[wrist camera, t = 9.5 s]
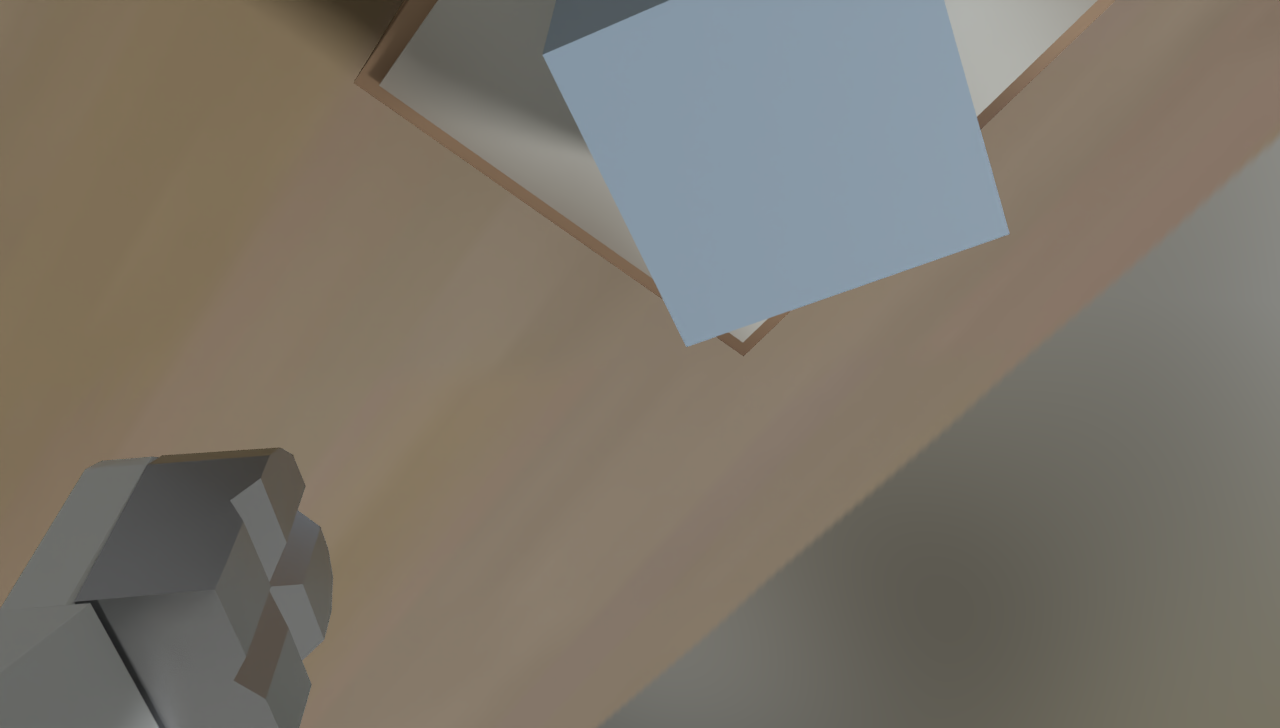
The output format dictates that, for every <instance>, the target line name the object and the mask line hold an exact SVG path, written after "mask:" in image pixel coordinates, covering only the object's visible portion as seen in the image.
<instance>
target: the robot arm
mask: <svg viewBox="0 0 1280 728" xmlns="http://www.w3.org/2000/svg"><path fill="white" fill-rule="evenodd" d="M304 489H305V483H304V481H303V479H302V476H301V474H300V471H299V469H298V466H297V464H296V462H295V459H294V457H293V455H292V454H291V453H289V452H287V451H285V450H284V449H282V448H266V449H251V450H236V451H222V452H207V453H192V454H177V455H162V456H160V457H142V458H130V459H117V460H105V461H100V462H98V463H96V464H94V465H92V466H91V467H89V468H87V469H85V471H84V472H83V474H82V475H81V477H80V478H79V480H78V482H77V483H76V485H75V487H74V488H73V490H72V492H71V493H70V495H69V497H68V498H67V500H66V501H65V503H64V505H63V506H62V508H61V510H60V511H59V513H58V515H57V516H56V518H55V520H54V521H53V523H52V524H51V526H50V528H49V529H48V531H47V533H46V534H45V536H44V538H43V539H42V541H41V543H40V544H39V546H38V547H37V549H36V551H35V552H34V554H33V556H32V557H31V559H30V561H29V562H28V564H27V566H26V567H25V569H24V570H23V572H22V574H21V575H20V577H19V579H18V580H17V582H16V584H15V585H14V587H13V588H12V590H11V592H10V593H9V595H8V597H7V598H6V600H5V602H4V603H3V605H2V607H1V608H0V728H299V726H300V723H301V719H302V716H303V713H304V709H305V706H306V702H307V699H308V695H309V692H310V688H311V682H310V680H309V677H308V675H307V672H306V670H305V667H304V665H303V662H302V660H303V659H304V658H305V657H306V656H307V655H308V654H310V653H311V652H312V651H313V650H314V649H315V648H316V647H317V646H318V645H319V644H320V643H321V642H322V641H323V640H324V638H325V634H326V630H327V626H328V623H329V619H330V615H331V610H332V584H333V575H332V569H331V563H330V557H329V551H328V547H327V544H326V541H325V539H324V536H323V533H322V530H321V527H320V526H318V525H317V524H316V523H314V522H313V521H312V520H310V519H309V518H307V517H306V516H305V515H303V514H302V513H301V512H299V511H298V507H299V504H300V501H301V498H302V495H303V492H304Z"/></svg>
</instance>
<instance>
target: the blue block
mask: <svg viewBox="0 0 1280 728" xmlns="http://www.w3.org/2000/svg"><path fill="white" fill-rule="evenodd" d="M542 55H543V57H544V59H545V61H546V63H547V65H548V67H549V69H550V71H551V73H552V75H553V78H554V80H555V82H556V84H557V86H558V88H559V90H560V92H561V94H562V96H563V98H564V100H565V102H566V104H567V106H568V108H569V110H570V112H571V114H572V116H573V118H574V120H575V122H576V124H577V126H578V128H579V130H580V132H581V134H582V136H583V138H584V140H585V142H586V144H587V146H588V148H589V150H590V152H591V154H592V157H593V159H594V161H595V163H596V165H597V167H598V169H599V171H600V173H601V175H602V177H603V179H604V181H605V183H606V185H607V187H608V189H609V191H610V193H611V195H612V197H613V199H614V201H615V203H616V205H617V207H618V209H619V211H620V213H621V215H622V217H623V219H624V221H625V223H626V225H627V227H628V229H629V231H630V234H631V236H632V238H633V240H634V242H635V244H636V246H637V248H638V250H639V252H640V254H641V256H642V258H643V260H644V262H645V264H646V266H647V268H648V270H649V272H650V274H651V276H652V278H653V280H654V282H655V284H656V286H657V288H658V290H659V292H660V294H661V296H662V298H663V300H664V302H665V304H666V306H667V308H668V310H669V313H670V315H671V317H672V319H673V321H674V323H675V325H676V327H677V329H678V331H679V333H680V335H681V337H682V339H683V341H684V343H685V345H686V347H688V346H691V345H693V344H696V343H699V342H702V341H705V340H708V339H711V338H713V337H716V336H719V335H722V334H725V333H728V332H731V331H733V330H736V329H739V328H742V327H745V326H748V325H751V324H754V323H756V322H759V321H762V320H765V319H768V318H771V317H774V316H776V315H779V314H782V313H785V312H788V311H791V310H794V309H796V308H799V307H802V306H805V305H808V304H811V303H814V302H816V301H819V300H822V299H825V298H828V297H831V296H834V295H836V294H839V293H842V292H845V291H848V290H851V289H854V288H857V287H859V286H862V285H865V284H868V283H871V282H874V281H877V280H879V279H882V278H885V277H888V276H891V275H894V274H897V273H899V272H902V271H905V270H908V269H911V268H914V267H917V266H919V265H922V264H925V263H928V262H931V261H934V260H937V259H940V258H942V257H945V256H948V255H951V254H954V253H957V252H960V251H962V250H965V249H968V248H971V247H974V246H977V245H980V244H982V243H985V242H988V241H991V240H994V239H997V238H1000V237H1002V236H1005V235H1008V234H1009V230H1008V227H1007V223H1006V219H1005V216H1004V212H1003V209H1002V205H1001V202H1000V198H999V194H998V191H997V187H996V184H995V180H994V177H993V173H992V169H991V166H990V162H989V159H988V155H987V152H986V148H985V145H984V141H983V137H982V134H981V130H980V127H979V123H978V120H977V116H976V112H975V109H974V105H973V102H972V98H971V95H970V91H969V87H968V84H967V80H966V77H965V73H964V70H963V66H962V62H961V59H960V55H959V52H958V48H957V45H956V41H955V38H954V34H953V30H952V27H951V23H950V20H949V16H948V13H947V9H946V5H945V2H944V0H556V3H555V7H554V11H553V15H552V19H551V23H550V27H549V31H548V34H547V38H546V42H545V46H544V50H543V54H542Z"/></svg>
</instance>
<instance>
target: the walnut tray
mask: <svg viewBox="0 0 1280 728" xmlns="http://www.w3.org/2000/svg"><path fill="white" fill-rule="evenodd" d="M1114 1H1115V0H944V2H945V5H946V9H947V13H948V16H949V20H950V23H951V27H952V30H953V34H954V38H955V41H956V45H957V48H958V52H959V55H960V59H961V62H962V66H963V70H964V73H965V77H966V80H967V84H968V87H969V91H970V95H971V98H972V102H973V105H974V109H975V112H976V116H977V120H978V123H979V127H980V130H981V129H982V128H983V127H984V126H985V125H986V124H987V123H988V122H989V121H990V120H991V119H992V118H993V117H994V116H995V115H996V114H997V113H998V112H999V111H1000V110H1002V109H1003V108H1004V107H1005V106H1006V105H1007V104H1008V103H1009V102H1010V101H1011V100H1012V99H1013V98H1014V97H1015V96H1016V95H1017V94H1018V93H1019V92H1020V91H1021V90H1022V89H1023V88H1025V87H1026V86H1027V85H1028V84H1029V83H1030V82H1031V81H1032V80H1033V79H1034V78H1035V77H1036V76H1037V75H1038V74H1039V73H1040V72H1041V71H1042V70H1043V69H1044V68H1045V67H1046V66H1048V65H1049V64H1050V63H1051V62H1052V61H1053V60H1054V59H1055V58H1056V57H1057V56H1058V55H1059V54H1060V53H1061V52H1062V51H1063V50H1064V49H1065V48H1066V47H1067V46H1068V45H1069V44H1071V43H1072V42H1073V41H1074V40H1075V39H1076V38H1077V37H1078V36H1079V35H1080V34H1081V33H1082V32H1083V31H1084V30H1085V29H1086V28H1087V27H1088V26H1089V25H1090V24H1091V23H1092V22H1094V21H1095V20H1096V19H1097V18H1098V17H1099V16H1100V15H1101V14H1102V13H1103V12H1104V11H1105V10H1106V9H1107V8H1108V7H1109V6H1110V5H1111V4H1112V3H1113V2H1114ZM555 3H556V0H404V2H403V3H402V5H401V7H400V8H399V10H398V12H397V13H396V15H395V16H394V18H393V20H392V21H391V23H390V24H389V26H388V28H387V29H386V31H385V33H384V34H383V36H382V37H381V39H380V41H379V42H378V44H377V45H376V47H375V49H374V50H373V52H372V54H371V55H370V57H369V58H368V60H367V62H366V63H365V65H364V67H363V68H362V70H361V71H360V73H359V75H358V76H357V78H356V79H355V81H354V83H355V84H356V85H357V86H359V87H360V88H362V89H363V90H365V91H366V92H367V93H369V94H370V95H372V96H373V97H375V98H376V99H377V100H379V101H380V102H382V103H383V104H385V105H386V106H387V107H389V108H390V109H392V110H393V111H395V112H396V113H397V114H399V115H400V116H402V117H403V118H405V119H406V120H407V121H409V122H410V123H412V124H413V125H415V126H416V127H417V128H419V129H420V130H422V131H423V132H424V133H426V134H427V135H429V136H430V137H432V138H433V139H434V140H436V141H437V142H439V143H440V144H442V145H443V146H444V147H446V148H447V149H449V150H450V151H452V152H453V153H454V154H456V155H457V156H459V157H460V158H462V159H463V160H464V161H466V162H467V163H469V164H470V165H472V166H473V167H474V168H476V169H477V170H479V171H480V172H482V173H483V174H484V175H486V176H487V177H489V178H490V179H492V180H493V181H494V182H496V183H497V184H499V185H500V186H502V187H503V188H504V189H506V190H507V191H509V192H510V193H512V194H513V195H514V196H516V197H517V198H519V199H520V200H521V201H523V202H524V203H526V204H527V205H529V206H530V207H531V208H533V209H534V210H536V211H537V212H539V213H540V214H541V215H543V216H544V217H546V218H547V219H549V220H550V221H551V222H553V223H554V224H556V225H557V226H559V227H560V228H561V229H563V230H564V231H566V232H567V233H569V234H570V235H571V236H573V237H574V238H576V239H577V240H579V241H580V242H581V243H583V244H584V245H586V246H587V247H589V248H590V249H591V250H593V251H594V252H596V253H597V254H599V255H600V256H601V257H603V258H604V259H606V260H607V261H609V262H610V263H611V264H613V265H614V266H616V267H617V268H618V269H620V270H621V271H623V272H624V273H626V274H627V275H628V276H630V277H631V278H633V279H634V280H636V281H637V282H638V283H640V284H641V285H643V286H644V287H646V288H647V289H648V290H650V291H651V292H653V293H654V294H656V295H657V296H658V297H660V298H661V299H663V298H662V296H661V294H660V292H659V290H658V288H657V286H656V284H655V282H654V280H653V278H652V276H651V274H650V272H649V270H648V268H647V266H646V264H645V262H644V260H643V258H642V256H641V254H640V252H639V250H638V248H637V246H636V244H635V242H634V240H633V238H632V236H631V234H630V231H629V229H628V227H627V225H626V223H625V221H624V219H623V217H622V215H621V213H620V211H619V209H618V207H617V205H616V203H615V201H614V199H613V197H612V195H611V193H610V191H609V189H608V187H607V185H606V183H605V181H604V179H603V177H602V175H601V173H600V171H599V169H598V167H597V165H596V163H595V161H594V159H593V157H592V154H591V152H590V150H589V148H588V146H587V144H586V142H585V140H584V138H583V136H582V134H581V132H580V130H579V128H578V126H577V124H576V122H575V120H574V118H573V116H572V114H571V112H570V110H569V108H568V106H567V104H566V102H565V100H564V98H563V96H562V94H561V92H560V90H559V88H558V86H557V84H556V82H555V80H554V78H553V75H552V73H551V71H550V69H549V67H548V65H547V63H546V61H545V59H544V57H543V55H542V54H543V50H544V46H545V42H546V38H547V34H548V31H549V27H550V23H551V19H552V15H553V11H554V7H555ZM789 312H790V311H788V312H785V313H782V314H779V315H776V316H774V317H771V318H768V319H765V320H762V321H759V322H756V323H754V324H751V325H748V326H745V327H742V328H739V329H736V330H733V331H731V332H728V333H725V334H722V335H719V336H716V337H717V338H718V339H720V340H721V341H723V342H724V343H725V344H727V345H728V346H730V347H731V348H733V349H734V350H735V351H737V352H738V353H740V354H741V355H743V356H744V355H745V354H746V353H747V352H749V351H750V350H751V349H752V348H753V347H754V346H755V345H756V344H757V343H758V342H759V341H760V340H761V339H762V338H763V337H764V336H765V335H766V334H767V333H768V332H769V331H770V330H772V329H773V328H774V327H775V326H776V325H777V324H778V323H779V322H780V321H781V320H782V319H783V318H784V317H785V316H786V315H787V314H788V313H789Z"/></svg>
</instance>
